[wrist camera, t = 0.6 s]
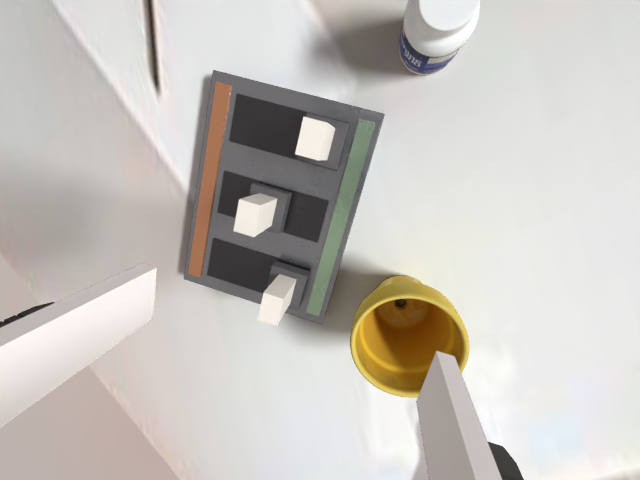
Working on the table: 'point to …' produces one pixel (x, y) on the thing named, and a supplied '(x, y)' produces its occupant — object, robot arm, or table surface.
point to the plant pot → (405, 335)
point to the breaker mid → (262, 210)
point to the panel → (279, 172)
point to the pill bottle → (435, 32)
